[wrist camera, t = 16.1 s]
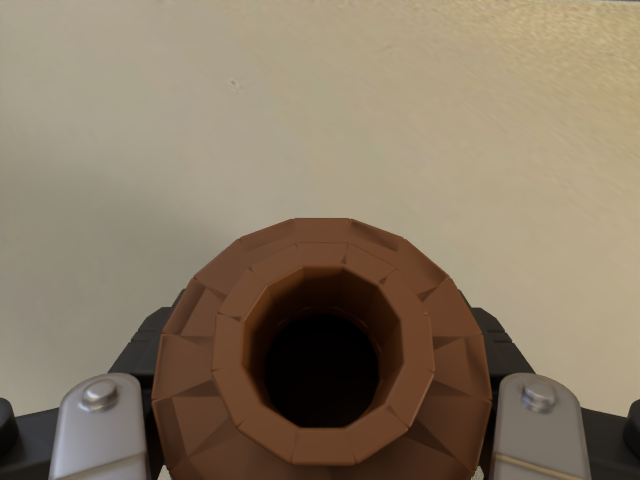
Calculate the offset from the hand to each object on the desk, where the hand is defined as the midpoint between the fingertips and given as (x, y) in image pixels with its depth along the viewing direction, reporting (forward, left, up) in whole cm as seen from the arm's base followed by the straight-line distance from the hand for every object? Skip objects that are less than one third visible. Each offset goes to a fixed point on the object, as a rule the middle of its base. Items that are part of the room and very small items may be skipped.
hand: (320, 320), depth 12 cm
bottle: (0, +2, -5) cm, 5 cm away
